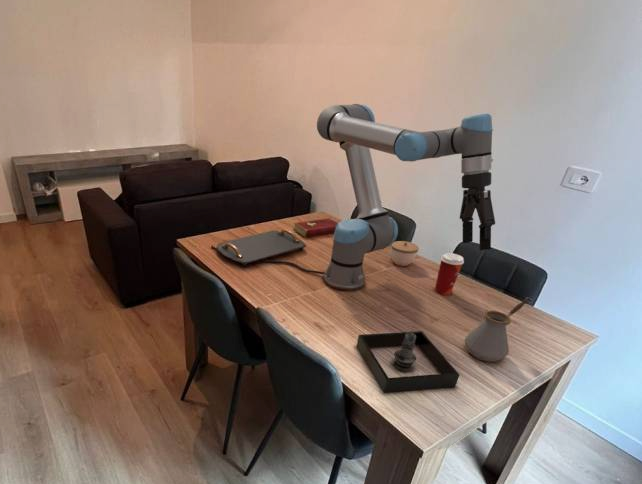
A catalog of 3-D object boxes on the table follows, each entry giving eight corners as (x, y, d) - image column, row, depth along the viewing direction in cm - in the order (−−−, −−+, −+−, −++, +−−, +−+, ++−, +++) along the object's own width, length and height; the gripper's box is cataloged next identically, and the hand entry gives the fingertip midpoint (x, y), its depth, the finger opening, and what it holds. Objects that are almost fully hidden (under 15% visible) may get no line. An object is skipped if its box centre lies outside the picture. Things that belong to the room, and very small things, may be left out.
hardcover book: (342, 233, 201) (343, 224, 199) (305, 238, 194) (305, 229, 192) (328, 225, 211) (329, 217, 209) (293, 229, 203) (293, 221, 201)
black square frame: (383, 393, 103) (386, 380, 101) (356, 347, 120) (358, 334, 118) (454, 387, 106) (459, 374, 104) (418, 343, 123) (421, 330, 120)
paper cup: (456, 297, 147) (467, 262, 140) (433, 294, 149) (444, 260, 142) (451, 287, 154) (462, 253, 147) (430, 285, 155) (439, 251, 148)
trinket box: (384, 257, 176) (388, 237, 172) (407, 257, 177) (412, 237, 172) (393, 268, 167) (398, 247, 162) (418, 268, 168) (424, 247, 163)
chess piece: (413, 362, 115) (423, 327, 108) (413, 375, 110) (424, 339, 104) (391, 357, 116) (400, 322, 110) (391, 370, 111) (400, 334, 105)
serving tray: (278, 234, 197) (279, 222, 194) (311, 250, 181) (313, 237, 178) (210, 251, 178) (209, 238, 174) (239, 271, 162) (240, 256, 158)
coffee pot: (490, 371, 112) (509, 325, 104) (453, 348, 120) (468, 305, 113) (531, 348, 122) (552, 305, 114) (495, 329, 130) (511, 288, 123)
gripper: (510, 170, 105) (508, 251, 110) (473, 171, 128) (473, 238, 134) (479, 174, 106) (478, 254, 112) (448, 175, 130) (449, 241, 135)
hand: (475, 245), depth 123 cm, fingers open, 13 cm apart
